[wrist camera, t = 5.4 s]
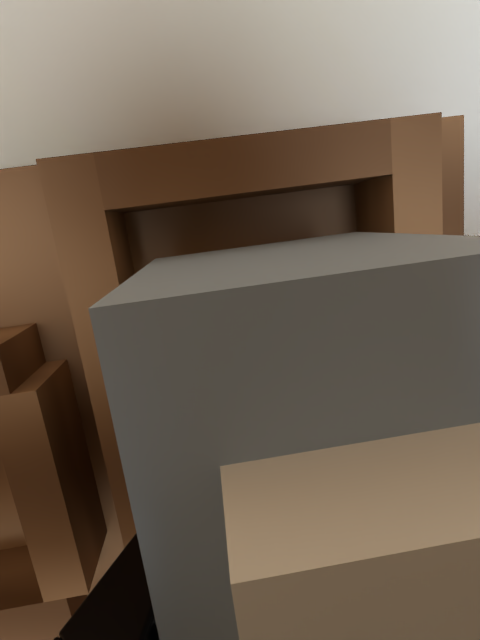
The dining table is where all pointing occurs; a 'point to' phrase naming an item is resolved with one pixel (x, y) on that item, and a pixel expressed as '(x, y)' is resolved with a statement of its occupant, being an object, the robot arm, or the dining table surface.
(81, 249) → the jig
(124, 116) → the dining table surface
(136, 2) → the dining table surface
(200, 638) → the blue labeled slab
